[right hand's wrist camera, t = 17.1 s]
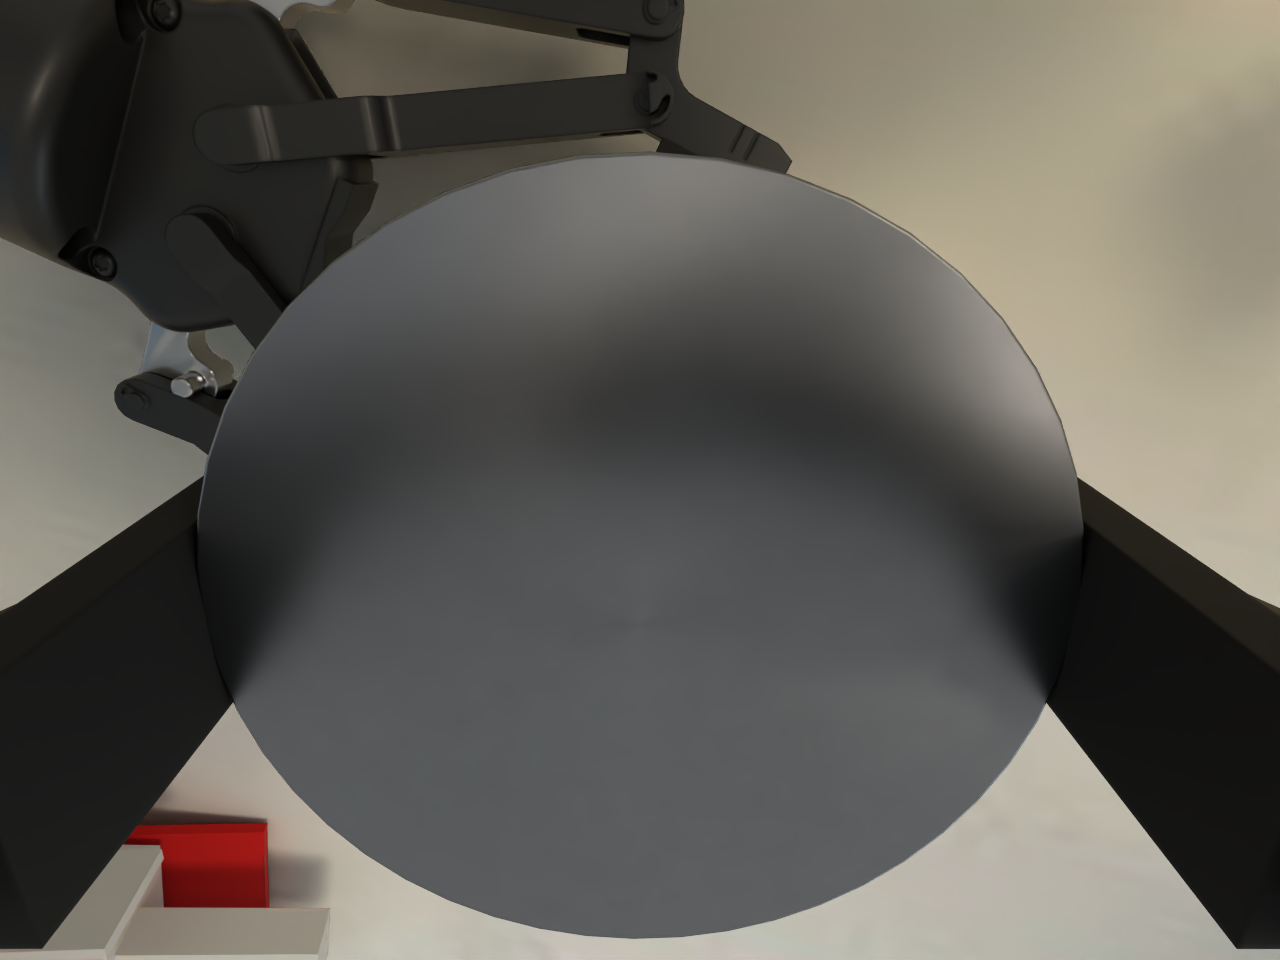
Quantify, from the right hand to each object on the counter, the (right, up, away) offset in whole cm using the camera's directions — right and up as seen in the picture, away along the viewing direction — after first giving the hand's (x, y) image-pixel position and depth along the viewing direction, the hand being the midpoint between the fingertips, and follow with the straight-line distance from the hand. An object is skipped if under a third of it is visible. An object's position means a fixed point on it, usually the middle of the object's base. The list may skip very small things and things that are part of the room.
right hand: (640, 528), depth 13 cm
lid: (0, -1, -2) cm, 3 cm away
